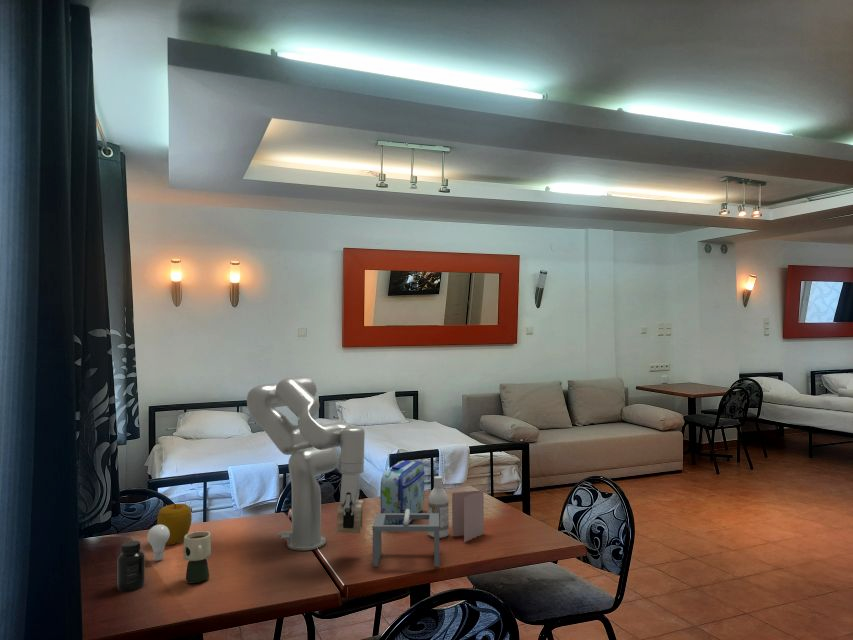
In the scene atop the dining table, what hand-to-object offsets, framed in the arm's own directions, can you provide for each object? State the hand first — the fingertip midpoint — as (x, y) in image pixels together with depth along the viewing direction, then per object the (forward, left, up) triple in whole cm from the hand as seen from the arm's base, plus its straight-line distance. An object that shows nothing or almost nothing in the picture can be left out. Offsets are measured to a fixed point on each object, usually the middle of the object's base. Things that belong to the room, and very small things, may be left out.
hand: (350, 523), depth 188 cm
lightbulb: (-59, -2, -11) cm, 60 cm away
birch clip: (0, 0, -2) cm, 2 cm away
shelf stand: (+18, -1, -11) cm, 21 cm away
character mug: (-41, -17, -11) cm, 46 cm away
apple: (-61, +14, -11) cm, 64 cm away
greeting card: (+39, +18, -11) cm, 44 cm away
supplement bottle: (-58, -21, -11) cm, 63 cm away
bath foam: (+28, +21, -11) cm, 36 cm away
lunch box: (+15, +39, -11) cm, 43 cm away
